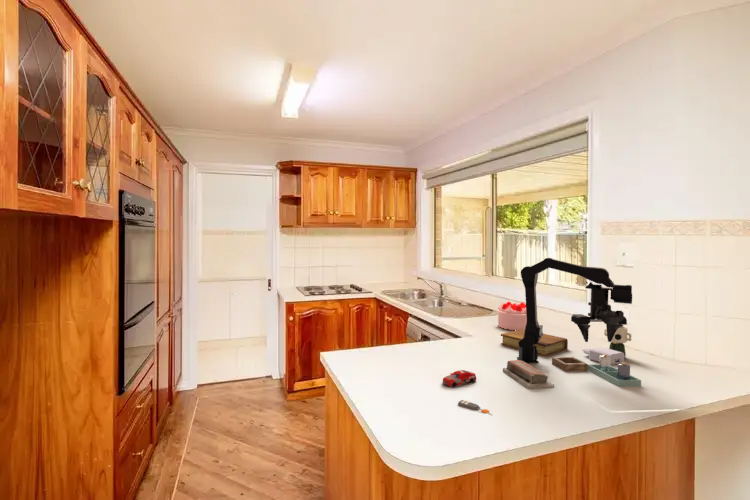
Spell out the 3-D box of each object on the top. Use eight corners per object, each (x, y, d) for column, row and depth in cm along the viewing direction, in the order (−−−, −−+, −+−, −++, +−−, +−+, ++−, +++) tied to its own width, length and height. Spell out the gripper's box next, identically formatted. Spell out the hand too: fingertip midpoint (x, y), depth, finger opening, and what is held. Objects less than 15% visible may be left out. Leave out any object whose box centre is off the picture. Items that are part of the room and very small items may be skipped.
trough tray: (618, 387, 127) (619, 380, 127) (586, 370, 144) (586, 364, 144) (641, 387, 128) (641, 380, 128) (606, 370, 145) (606, 363, 145)
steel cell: (596, 371, 142) (597, 353, 142) (605, 371, 142) (606, 353, 142) (603, 375, 138) (603, 356, 138) (612, 374, 138) (612, 356, 138)
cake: (530, 333, 204) (530, 307, 204) (493, 328, 215) (493, 303, 215) (536, 326, 221) (537, 302, 220) (502, 322, 232) (502, 299, 231)
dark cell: (622, 385, 129) (622, 364, 129) (614, 381, 132) (615, 361, 132) (632, 384, 129) (632, 364, 129) (624, 380, 133) (624, 361, 132)
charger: (590, 353, 168) (624, 363, 154) (576, 356, 164) (609, 366, 150) (590, 343, 168) (624, 352, 154) (576, 345, 164) (610, 354, 150)
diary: (567, 350, 173) (567, 338, 173) (545, 357, 163) (546, 344, 162) (522, 339, 192) (523, 328, 192) (500, 345, 181) (500, 333, 181)
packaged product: (501, 359, 144) (525, 358, 145) (501, 372, 144) (525, 370, 145) (528, 376, 126) (555, 374, 128) (528, 390, 126) (554, 388, 128)
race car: (449, 389, 126) (449, 377, 126) (439, 384, 131) (439, 372, 131) (478, 382, 132) (479, 371, 132) (468, 377, 137) (468, 367, 137)
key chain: (456, 407, 113) (456, 402, 113) (462, 403, 116) (462, 398, 116) (498, 420, 105) (498, 415, 105) (503, 415, 107) (503, 410, 107)
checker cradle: (564, 372, 143) (565, 363, 142) (551, 364, 152) (552, 356, 151) (587, 371, 143) (587, 363, 143) (573, 364, 152) (573, 356, 152)
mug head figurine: (599, 354, 166) (600, 325, 165) (608, 352, 169) (608, 323, 169) (626, 361, 156) (627, 330, 156) (634, 358, 160) (635, 328, 160)
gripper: (589, 304, 133) (588, 348, 134) (639, 304, 134) (637, 347, 135) (570, 299, 144) (569, 339, 145) (616, 299, 146) (615, 339, 146)
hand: (597, 341), depth 142 cm, fingers open, 9 cm apart
